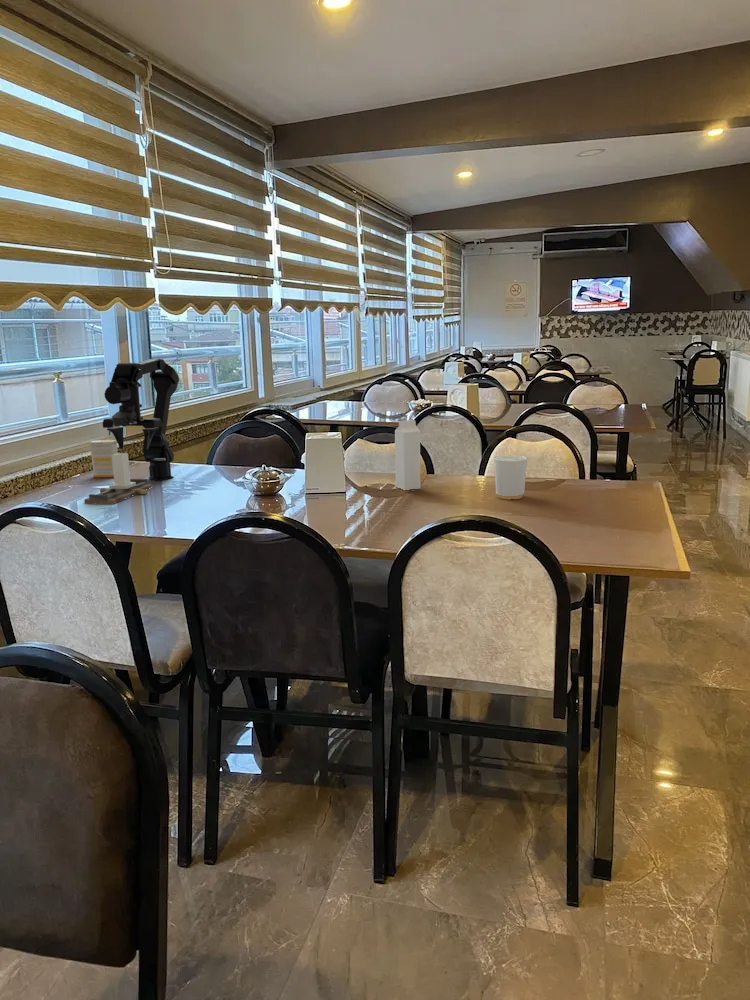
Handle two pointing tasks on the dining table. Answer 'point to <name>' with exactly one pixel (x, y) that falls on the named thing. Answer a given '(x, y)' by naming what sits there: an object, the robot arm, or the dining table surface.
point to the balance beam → (119, 493)
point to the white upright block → (121, 472)
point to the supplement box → (103, 457)
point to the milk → (407, 455)
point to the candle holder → (510, 475)
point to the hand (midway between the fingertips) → (134, 449)
